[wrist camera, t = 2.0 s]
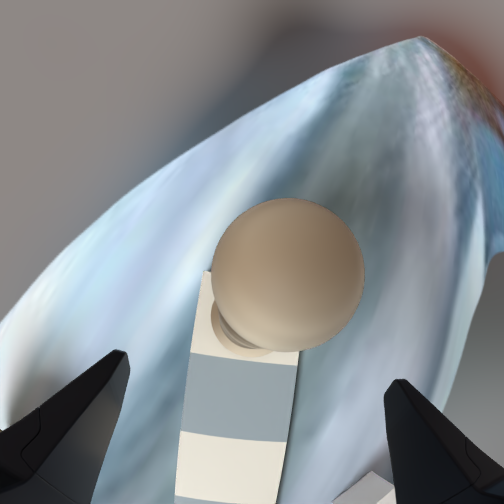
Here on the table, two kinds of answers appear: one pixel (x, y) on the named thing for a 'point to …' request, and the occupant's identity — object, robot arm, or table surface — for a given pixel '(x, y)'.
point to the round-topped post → (284, 278)
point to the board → (232, 419)
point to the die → (368, 492)
